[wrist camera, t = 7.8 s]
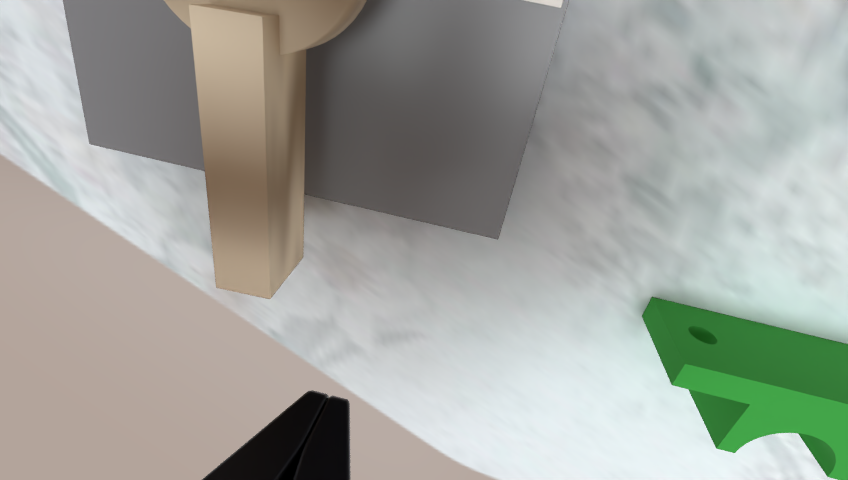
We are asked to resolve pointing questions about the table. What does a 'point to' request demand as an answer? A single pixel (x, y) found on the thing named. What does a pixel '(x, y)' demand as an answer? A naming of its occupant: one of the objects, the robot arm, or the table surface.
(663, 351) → the pipe clamp
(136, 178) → the table surface
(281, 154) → the beige long-handled part
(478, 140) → the thin gray panel
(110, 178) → the table surface
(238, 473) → the robot arm
